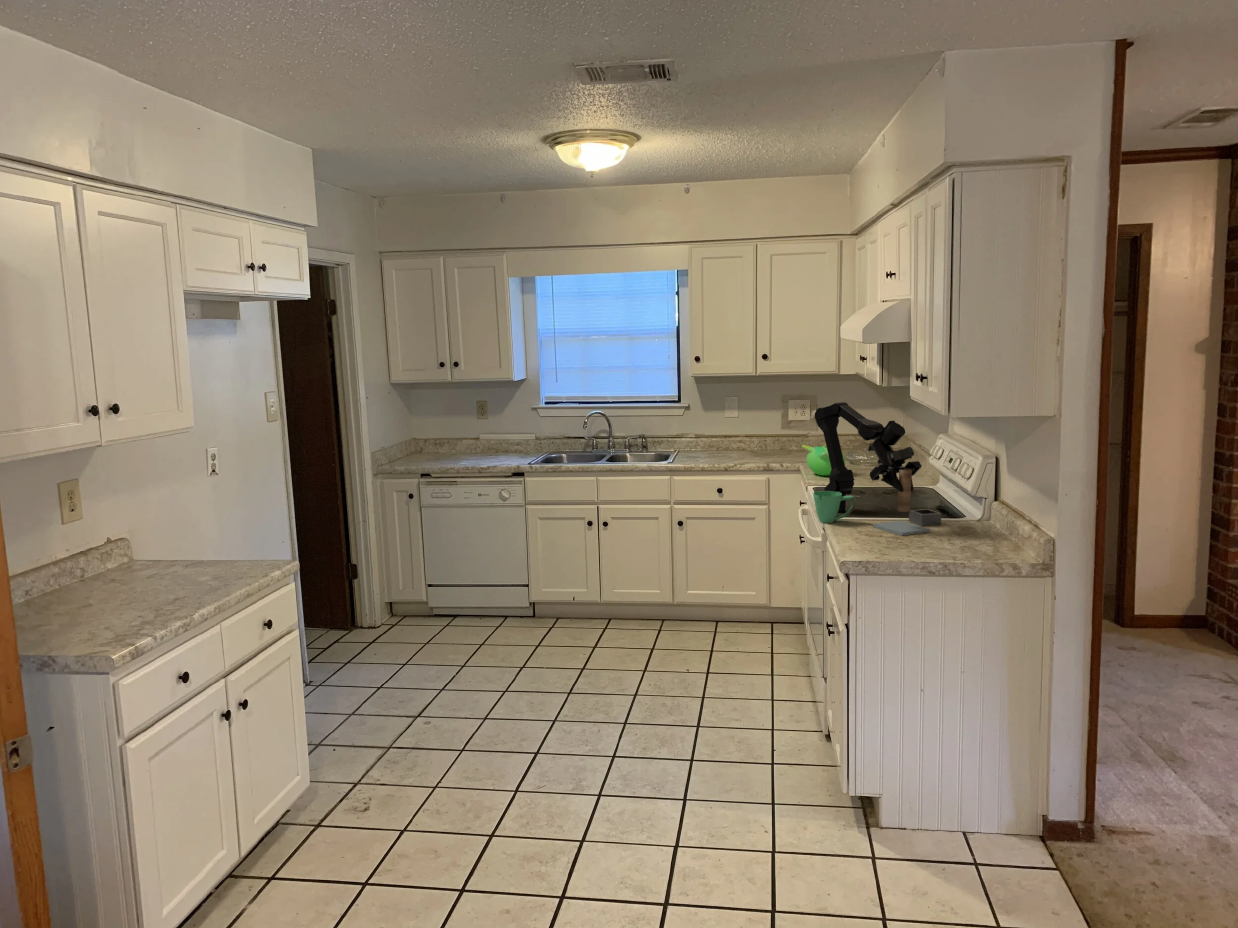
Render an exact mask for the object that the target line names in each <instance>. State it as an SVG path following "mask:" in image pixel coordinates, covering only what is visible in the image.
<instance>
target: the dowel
mask: <svg viewBox="0 0 1238 928" xmlns="http://www.w3.org/2000/svg"><path fill="white" fill-rule="evenodd" d="M911 478H912V479H913V476H912V470H911V469H899V473H898V480H899V481H900V483H901V485H902V487H903V490H904V491H903V492H900V491H899V490H897V491H898V492H897V509H896V510H897V512H900V513H909V512H910V510H911V498H912V497H911V495H912V491H911Z"/></svg>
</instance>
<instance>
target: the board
mask: <svg viewBox="0 0 1238 928" xmlns="http://www.w3.org/2000/svg"><path fill="white" fill-rule="evenodd" d="M872 527H873V528H876V529H879V530H881V531H885V532H888V531H889V533H891V532H892V534H894V533H895V534H894V535H898V536H902V537H904V536H910V534H911V535H916V534H915V533H919V534H924V533H923V532H926V533H931V529H930V528H928V527H926V526H920V525H917V524H914V523H912V522H907V521H903V520H894V521H887V522H880V523H873V525H872ZM903 535H904V536H903Z"/></svg>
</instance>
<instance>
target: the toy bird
mask: <svg viewBox="0 0 1238 928" xmlns="http://www.w3.org/2000/svg"><path fill="white" fill-rule="evenodd" d="M801 448H802V449H804V450H806V451H807V452H808V453H807V455H806V464H807V467H808V468H809V469H810V471H811V472H813V473H814V474H816V475H818V476H822V477H829V476H830V473H831V464H830V460H829V455H828V451H827V447H826V444H822V445H817V446H810V445H805V444H802V445H801ZM842 455H843V459H844V464H845V465H846V456H845V454H844V453H843V451H842Z"/></svg>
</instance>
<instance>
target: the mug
mask: <svg viewBox="0 0 1238 928" xmlns="http://www.w3.org/2000/svg"><path fill="white" fill-rule="evenodd" d="M812 496H813V501H814V506H815V511H816V514H817V517H818V520H819V522H820V523H823V524H833V523H834V522H835V521H838V520H840V519H844V518H846V517H847V516H849V515H850V513H852V511H854V510H855V509H856V508H855V507H856V503H857V499H856V498H855V497H854V496H853V495H846V496H842V494H841V493H839V492H833V491H824V490H819V491H818V490H817V491H814V492H813V494H812ZM842 500H846V501H847V500H851V501H852V504H851V506H850V508H848V511H847V512H844V513H842V514H840V515H838V513H839V512H838V510H839V506H840V502H841V501H842Z"/></svg>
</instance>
